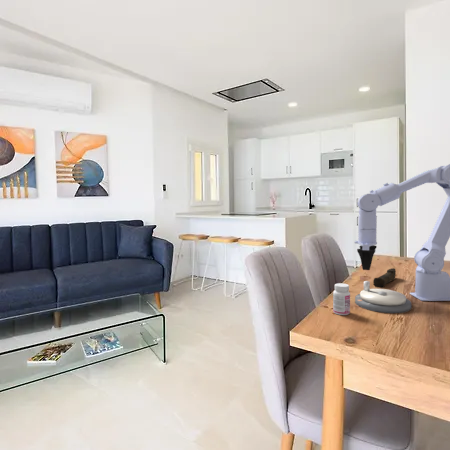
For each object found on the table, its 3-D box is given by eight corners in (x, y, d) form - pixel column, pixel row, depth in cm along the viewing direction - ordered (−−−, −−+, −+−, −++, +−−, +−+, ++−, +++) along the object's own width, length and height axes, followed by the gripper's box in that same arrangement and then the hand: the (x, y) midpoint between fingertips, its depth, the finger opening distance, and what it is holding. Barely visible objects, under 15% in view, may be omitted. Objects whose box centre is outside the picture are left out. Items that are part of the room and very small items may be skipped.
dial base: (396, 296, 110) (396, 291, 110) (422, 313, 94) (422, 307, 94) (348, 296, 111) (348, 292, 111) (366, 313, 95) (366, 308, 95)
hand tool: (383, 289, 119) (384, 276, 119) (372, 287, 122) (373, 275, 122) (401, 279, 132) (402, 268, 132) (391, 278, 135) (391, 267, 135)
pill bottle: (348, 316, 93) (348, 287, 92) (331, 313, 95) (331, 285, 94) (351, 311, 97) (351, 283, 96) (335, 308, 99) (335, 282, 98)
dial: (414, 300, 100) (414, 286, 100) (390, 308, 93) (391, 293, 93) (375, 290, 111) (375, 277, 111) (351, 297, 104) (351, 284, 104)
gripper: (356, 226, 119) (356, 262, 121) (352, 230, 107) (352, 271, 108) (377, 227, 116) (377, 264, 117) (376, 231, 103) (375, 272, 105)
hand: (366, 267), depth 112 cm, fingers open, 7 cm apart
